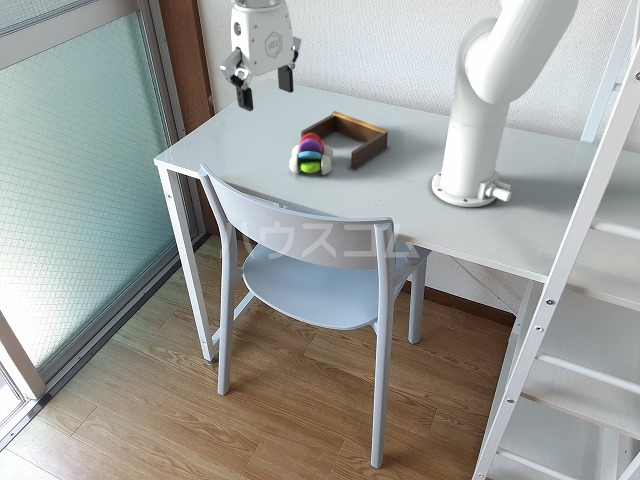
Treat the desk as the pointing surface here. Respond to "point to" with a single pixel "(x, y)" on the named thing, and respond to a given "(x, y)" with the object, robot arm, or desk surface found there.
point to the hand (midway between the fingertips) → (266, 99)
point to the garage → (353, 135)
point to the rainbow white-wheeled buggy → (311, 155)
